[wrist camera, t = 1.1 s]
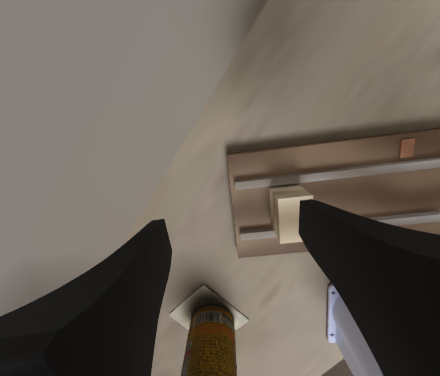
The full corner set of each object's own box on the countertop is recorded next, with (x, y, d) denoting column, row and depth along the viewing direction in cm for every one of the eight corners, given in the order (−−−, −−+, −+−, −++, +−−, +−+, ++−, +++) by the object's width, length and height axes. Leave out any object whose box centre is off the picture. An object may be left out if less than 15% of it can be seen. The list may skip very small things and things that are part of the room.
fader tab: (298, 222, 22) (313, 240, 19) (271, 225, 23) (280, 243, 19) (297, 184, 21) (313, 195, 18) (268, 187, 21) (277, 199, 18)
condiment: (213, 346, 30) (205, 482, 18) (168, 313, 28) (130, 439, 17) (249, 318, 28) (265, 448, 17) (204, 282, 27) (188, 398, 15)
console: (441, 231, 24) (463, 241, 22) (237, 250, 25) (238, 262, 23) (461, 125, 21) (489, 124, 19) (226, 153, 22) (226, 156, 20)
